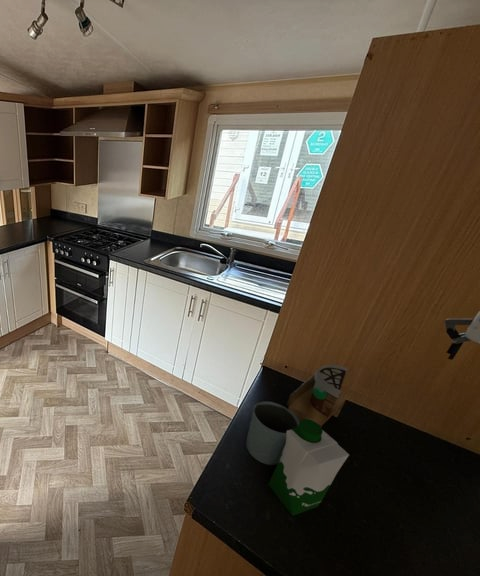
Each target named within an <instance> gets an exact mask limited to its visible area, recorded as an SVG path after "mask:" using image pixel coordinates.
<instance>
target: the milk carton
mask: <svg viewBox="0 0 480 576" xmlns="http://www.w3.org/2000/svg"><path fill="white" fill-rule="evenodd" d="M349 456H350V454H349V453H348V452H347V451H346V450H345V449H344V448H342V447H341V446H340V445H339V443H338V442H337V441H336V440H335V439H334V438H333V437H331V436H330V435H329V434H328V433H327V432H326V431H324V430H323V428H322V427H320V426H319V425H318V424H317V423H316V422H314V421H312V420H309V419H302V420H301V421H300V423H299V425H298V426H296V427H295V428H293V429H291V430H288V431H287V432H286V444H285V447H284V449H283V452H282V454H281V457H280V459H279V462H278V464H276V467H275V469H274V471H273V472H272V475H271V477H270V479H269V481H268V483H267V484H268V486H269V488H270V489H271V490H272V492H273V493H274V494H275V495H276V496H277V498H278V499H279V500H280V502H281V503H282V504H283V506H284V507H285V508H286V510H287V511H288V512H289V513H290V515H292V516H293V517H294V516H296V515H298V514H302V513H305V512H308V511H310V510H312V509H315V508H318V507H319V506H320V504H321V503H322V501H323V500H324V498H325V496H326V494H327V492H328V490H329V489H330V487H331V485H332V483H333V482H334V480H335V478H336V476H337V474H338V473H339V471H340V469H341V468H342V466H343V465H344V463H346V461H347V459H348V458H349Z"/></svg>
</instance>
